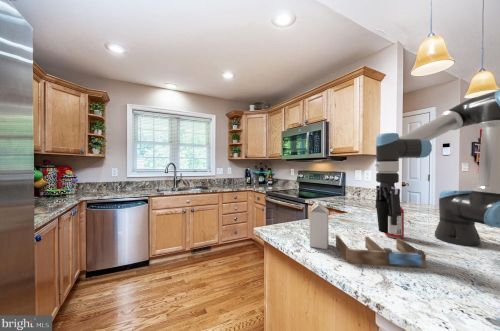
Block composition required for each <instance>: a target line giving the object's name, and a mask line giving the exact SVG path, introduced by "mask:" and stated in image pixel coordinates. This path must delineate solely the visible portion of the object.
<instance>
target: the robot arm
mask: <svg viewBox="0 0 500 331" xmlns="http://www.w3.org/2000/svg"><path fill="white" fill-rule="evenodd" d="M472 125H477V127H479V128H480V129H481V130H482V131H481V140H480V151H479V153H480V154H479V163H478V171H477V172H478V174H477V184H476V186H475V187H474V188H471V190H441V191H440V192H439V197H438V210H439V213H438V215H439V217H438V219H439V221H438V224H437V225H436V228H435V230H434V237H435V238H436V239H437V240H440V241H443V242H445V243H450V244H455V245H460V246H469V247H478V246H481V244H482V240H481V237H480V235H479V232H478V230H477V228H476V224H475V223H477V224H481V225H486V226H488V227H489V228H490V227H491V228H499V229H500V89H498V90H494V91H492V92H489V93H485V94H481V95H477V96H475V97H472V98H469V99H467V100H466V101H462V102H461V103H459V104H457V105H456V106H453V107H451V108H450V109H448V110H446V111H444V112H442V113H441V115H440V116H438V117H436V118H434V119H432V120H431V121H429V122H427V123H424V124H423V125H420V126H418V127H417V128H414V129H413V130H410V131H409V132H406V133H404V134H402V135H400V136H399V133H396V132H386V133H380V134H378V135H377V136H376V140H375V142H376V143H375V158H376V159H375V160H376V164H375V165H374V166H375V167H376V168H375V169H376V171H375V172H376V174H375V179H376V180H375V181H376V182H377V183H380V184H379V185H376V186H375V189H376V193H375V194H376V195H375V201H376V200H380V202H387V203H389V204H388V209H389V215H388V233H393V234H397V217H398V216H401V197H400V193H401V189H400V188H396V185H395V184H398V183H399V181H400V178H399V177H400V174H399V173H398V172H399V171H400V159H415V158H416V159H420V158H421V159H422V158H427V157H429V156H430V154H432V150H433V149H432V148H433V144H432V143H431V142H430V141H432V140H433V139H434V140H435V139H436V138H438V137H441V135H444V134H446V133H448V132H450V131H456V130H460V129H461V128H463V127H467V126H468V127H469V126H472ZM375 208H376V205H375Z"/></svg>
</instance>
